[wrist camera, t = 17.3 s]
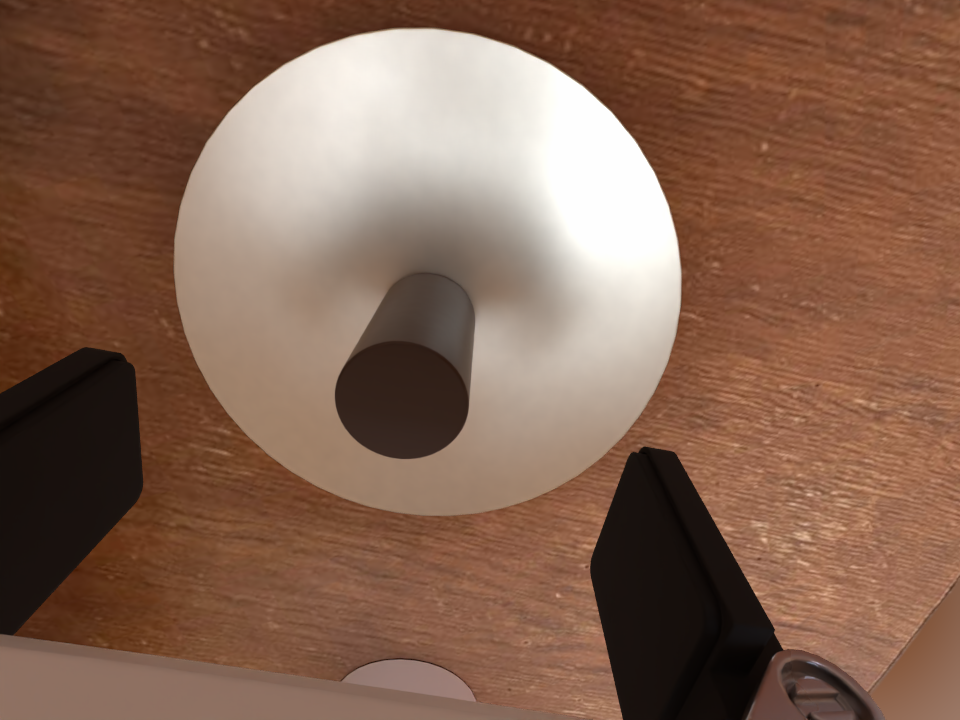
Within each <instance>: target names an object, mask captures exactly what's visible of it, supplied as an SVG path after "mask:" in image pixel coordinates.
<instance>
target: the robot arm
mask: <svg viewBox="0 0 960 720" xmlns="http://www.w3.org/2000/svg"><path fill="white" fill-rule="evenodd" d="M142 487H143V474H142V460H141V446H140V432H139V418H138V404H137V391H136V377H135V369H134V367H133V365H132V364H131V363H128V362H127V360H126V358H125V357H124V355H122V354H121V353H117V352H111V351H105V350H100V349H94V348H87V347H85V348H82V349H80V350H78V351H76V352H74V353H72V354H71V355H69V356H67V357H65V358H63V359H62V360H60V361H58V362H56V363H54V364H53V365H51V366H49V367H47V368H46V369H44V370H42V371H40V372H38V373H37V374H35V375H33V376H31V377H29V378H28V379H26V380H24V381H22V382H20V383H19V384H17V385H15V386H13V387H11V388H10V389H8V390H6V391H4V392H2V393H1V394H0V720H591V719H585V718H579V717H573V716H567V715H561V714H555V713H548V712H541V711H534V710H528V709H521V708H514V707H508V706H501V705H494V704H488V703H481V702H474V701H467V700H461V699H454V698H447V697H441V696H434V695H427V694H420V693H414V692H407V691H400V690H394V689H387V688H380V687H373V686H366V685H359V684H352V683H345V682H338V681H331V680H324V679H318V678H311V677H304V676H297V675H290V674H283V673H276V672H269V671H262V670H255V669H248V668H241V667H234V666H227V665H220V664H213V663H206V662H198V661H191V660H184V659H177V658H170V657H163V656H156V655H149V654H141V653H134V652H127V651H120V650H112V649H105V648H98V647H90V646H83V645H76V644H69V643H61V642H54V641H47V640H39V639H32V638H25V637H18V636H13V635H14V634H15V633H16V632H17V630H18V629H19V628H20V627H21V626H22V625H23V624H24V623H25V622H26V621H27V620H28V619H29V617H30V616H31V615H32V614H33V613H34V612H35V611H36V610H37V609H38V608H39V607H40V606H41V605H42V603H43V602H44V601H45V600H46V599H47V598H48V597H49V596H50V595H51V594H52V593H53V592H54V590H55V589H56V588H57V587H58V586H59V585H60V584H61V583H62V582H63V581H64V580H65V579H66V578H67V576H68V575H69V574H70V573H71V572H72V571H73V570H74V569H75V568H76V567H77V566H78V565H79V563H80V562H81V561H82V560H83V559H84V558H85V557H86V556H87V555H88V554H89V553H90V552H91V550H92V549H93V548H94V547H95V546H96V545H97V544H98V543H99V542H100V541H101V540H102V539H103V538H104V536H105V535H106V534H107V533H108V532H109V531H110V530H111V529H112V528H113V527H114V526H115V525H116V523H117V522H118V521H119V520H120V519H121V518H122V517H123V516H124V515H125V514H126V513H127V512H128V510H129V509H130V508H131V507H132V506H133V505H134V504H135V503H136V501H137V500H138V498H139V496H140V494H141V491H142ZM590 573H591V579H592V584H593V588H594V592H595V597H596V601H597V606H598V610H599V615H600V619H601V624H602V628H603V632H604V637H605V641H606V646H607V650H608V655H609V659H610V664H611V668H612V672H613V677H614V681H615V686H616V690H617V695H618V699H619V704H620V708H621V712H622V717H623V720H885V718H884V716H883V713H882V711H881V710H880V708H879V707H878V706H877V704H876V703H875V702H874V700H873V699H872V698H871V696H870V695H869V694H868V693H867V692H866V691H865V690H864V689H863V688H862V687H861V686H860V685H859V684H858V683H857V682H856V681H855V680H854V679H853V678H852V677H851V676H849V675H848V674H847V673H845V672H844V671H843V670H841V669H840V668H839V667H837V666H836V665H834V664H832V663H831V662H829V661H827V660H825V659H823V658H821V657H820V656H817V655H814V654H811V653H808V652H805V651H802V650H792V649H787V650H783V649H782V647H781V645H780V643H779V641H778V640H777V638H776V636H775V634H774V631H775V629H774V627H773V625H772V624H771V622H770V620H769V618H768V617H767V615H766V613H765V611H764V609H763V608H762V606H761V604H760V602H759V601H758V599H757V597H756V595H755V593H754V592H753V590H752V588H751V586H750V585H749V583H748V581H747V579H746V578H745V576H744V574H743V572H742V570H741V569H740V567H739V565H738V563H737V562H736V560H735V558H734V556H733V554H732V553H731V551H730V549H729V547H728V546H727V544H726V542H725V540H724V538H723V537H722V535H721V533H720V531H719V530H718V528H717V526H716V524H715V523H714V521H713V519H712V517H711V515H710V514H709V512H708V510H707V508H706V507H705V505H704V503H703V501H702V499H701V498H700V496H699V494H698V492H697V491H696V489H695V487H694V485H693V483H692V482H691V480H690V478H689V476H688V475H687V473H686V471H685V469H684V468H683V466H682V464H681V462H680V460H679V459H678V457H677V455H676V454H675V453H674V452H672V451H667V450H661V449H656V448H650V447H643V448H641V449H640V451H639V453H636V452H632V453H631V454H630V455H629V457H628V460H627V462H626V465H625V468H624V471H623V473H622V476H621V479H620V481H619V484H618V487H617V490H616V492H615V495H614V498H613V500H612V503H611V506H610V509H609V511H608V514H607V517H606V520H605V522H604V525H603V528H602V530H601V533H600V536H599V539H598V541H597V544H596V547H595V549H594V552H593V555H592V558H591V566H590Z"/></svg>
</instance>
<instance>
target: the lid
mask: <svg viewBox="0 0 960 720" xmlns="http://www.w3.org/2000/svg"><path fill="white" fill-rule="evenodd" d="M173 272H174V281H175V290H176V299H177V305H178V309H179V313H180V317H181V321H182V325H183V329H184V333H185V336H186V338H187V341H188V343H189V346H190V349H191V351H192V354H193V356H194V359H195V361H196V363H197V365H198V367H199V369H200V371H201V373H202V375H203V377H204V378H205V380H206V382H207V384H208V386H209V388H210V389H211V391H212V392H213V394H214V395H215V397H216V398H217V399H218V401H219V402H220V404H221V405H222V407H223V408H224V409H225V411H226V412H227V414H228V415H229V416H230V417H231V418H232V419H233V420H234V422H235V423H236V424H237V425H238V426H239V427H240V428H241V430H242V431H243V432H244V433H245V434H246V435H247V436H248V437H249V438H250V439H251V440H252V441H253V442H254V443H256V444H257V445H258V446H259V447H260V448H261V449H262V450H263V451H264V452H265V453H267V454H268V455H269V456H270V457H272V458H273V459H274V460H276V461H277V462H278V463H280V464H281V465H283V466H284V467H285V468H287V469H288V470H289V471H291V472H292V473H294V474H296V475H297V476H299V477H301V478H303V479H304V480H306V481H308V482H310V483H311V484H313V485H315V486H316V487H319V488H321V489H323V490H325V491H328V492H330V493H332V494H334V495H337V496H339V497H341V498H344V499H347V500H350V501H353V502H356V503H359V504H362V505H365V506H368V507H372V508H377V509H381V510H386V511H391V512H395V513H403V514H412V515H421V516H456V515H466V514H477V513H482V512H487V511H492V510H497V509H502V508H506V507H509V506H512V505H515V504H519V503H522V502H525V501H528V500H531V499H533V498H535V497H538V496H540V495H542V494H544V493H547V492H549V491H551V490H553V489H556V488H557V487H559V486H561V485H562V484H564V483H566V482H568V481H569V480H571V479H573V478H574V477H576V476H578V475H579V474H581V473H582V472H583V471H585V470H586V469H587V468H589V467H590V466H591V465H593V464H594V463H595V462H597V461H598V460H599V459H601V458H602V457H603V456H604V455H605V454H606V453H607V452H608V451H609V450H610V449H611V448H612V447H613V446H614V445H615V444H616V443H617V442H618V441H620V440H621V439H622V437H623V436H624V435H625V434H626V433H627V431H628V430H629V429H630V428H631V426H632V425H633V424H634V423H635V421H636V420H637V419H638V418H639V416H640V415H641V413H642V412H643V410H644V409H645V407H646V405H647V404H648V402H649V401H650V399H651V397H652V396H653V394H654V392H655V391H656V388H657V386H658V384H659V382H660V380H661V377H662V375H663V373H664V371H665V369H666V366H667V364H668V361H669V358H670V354H671V351H672V348H673V344H674V341H675V338H676V335H677V328H678V322H679V316H680V309H681V302H682V266H681V257H680V249H679V241H678V235H677V231H676V228H675V224H674V220H673V216H672V213H671V209H670V205H669V202H668V200H667V198H666V195H665V193H664V191H663V188H662V186H661V184H660V181H659V179H658V177H657V174H656V172H655V170H654V168H653V167H652V165H651V164H650V162H649V160H648V159H647V157H646V155H645V154H644V152H643V150H642V149H641V147H640V145H639V144H638V142H637V140H636V139H635V138H634V137H633V135H632V134H631V133H630V132H629V131H628V129H627V128H626V127H625V126H624V125H623V123H622V122H621V121H620V120H619V118H618V117H617V116H616V115H615V114H614V112H613V111H612V110H611V109H610V108H609V107H608V106H606V105H605V104H604V103H603V102H602V101H601V100H600V99H599V98H598V97H597V96H595V95H594V94H593V93H592V92H591V91H590V90H589V89H588V88H587V87H585V86H584V85H583V84H582V83H580V82H579V81H577V80H576V79H574V78H573V77H571V76H570V75H568V74H567V73H565V72H564V71H562V70H561V69H559V68H558V67H557V66H555V65H554V64H552V63H551V62H549V61H547V60H544V59H542V58H540V57H538V56H536V55H534V54H532V53H530V52H528V51H526V50H523V49H521V48H519V47H517V46H515V45H512V44H509V43H506V42H503V41H499V40H496V39H493V38H489V37H486V36H483V35H480V34H476V33H471V32H464V31H457V30H450V29H444V28H437V27H394V28H388V29H382V30H376V31H369V32H363V33H357V34H353V35H350V36H347V37H344V38H341V39H338V40H335V41H332V42H328V43H325V44H322V45H319V46H317V47H315V48H313V49H311V50H309V51H307V52H305V53H303V54H301V55H299V56H297V57H295V58H293V59H291V60H289V61H288V62H286V63H284V64H282V65H281V66H279V67H278V68H277V69H275V70H274V71H273V72H271V73H270V74H269V75H267V76H266V77H264V78H263V79H262V80H260V81H259V82H258V83H256V84H255V85H254V86H252V87H251V88H250V89H249V90H248V91H247V92H246V94H245V95H244V96H243V97H242V98H241V99H240V100H239V101H238V102H237V103H236V104H235V105H234V106H233V107H232V108H231V109H230V110H229V111H228V112H227V113H226V114H225V116H224V117H223V119H222V120H221V121H220V123H219V124H218V126H217V127H216V128H215V130H214V131H213V132H212V134H211V135H210V137H209V138H208V139H207V141H206V143H205V145H204V147H203V149H202V151H201V153H200V155H199V157H198V159H197V161H196V163H195V164H194V166H193V168H192V170H191V173H190V176H189V179H188V182H187V185H186V188H185V191H184V194H183V197H182V200H181V203H180V207H179V213H178V219H177V225H176V231H175V236H174V266H173Z"/></svg>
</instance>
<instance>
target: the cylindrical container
mask: <svg viewBox="0 0 960 720" xmlns="http://www.w3.org/2000/svg"><path fill="white" fill-rule="evenodd" d="M341 682H345V683H352V684H359V685H366V686H373V687H380V688H387V689H394V690H400V691H407V692H414V693H420V694H427V695H434V696H441V697H447V698H454V699H461V700H467V701H474V702H476V699H475V697H474V695H473V693H472V691H471V689H470V688H469V687H468V686H467V685H466V684H465V683H464V682H463V681H462V680H461V679H460V678H458V677H457V676H456V675H454V674H453V673H451V672H449V671H447V670H445V669H443V668H441V667H438V666H435V665H432V664H430V663H425V662H420V661H415V660H402V659H398V660H384V661H380V662H375V663H371V664H368V665H365V666H363V667H360V668H358V669H356V670H355V671H353V672H352V673H350V674H349V675H347V676H346V677H345V678H344V679H343V680H342V681H341Z"/></svg>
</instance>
